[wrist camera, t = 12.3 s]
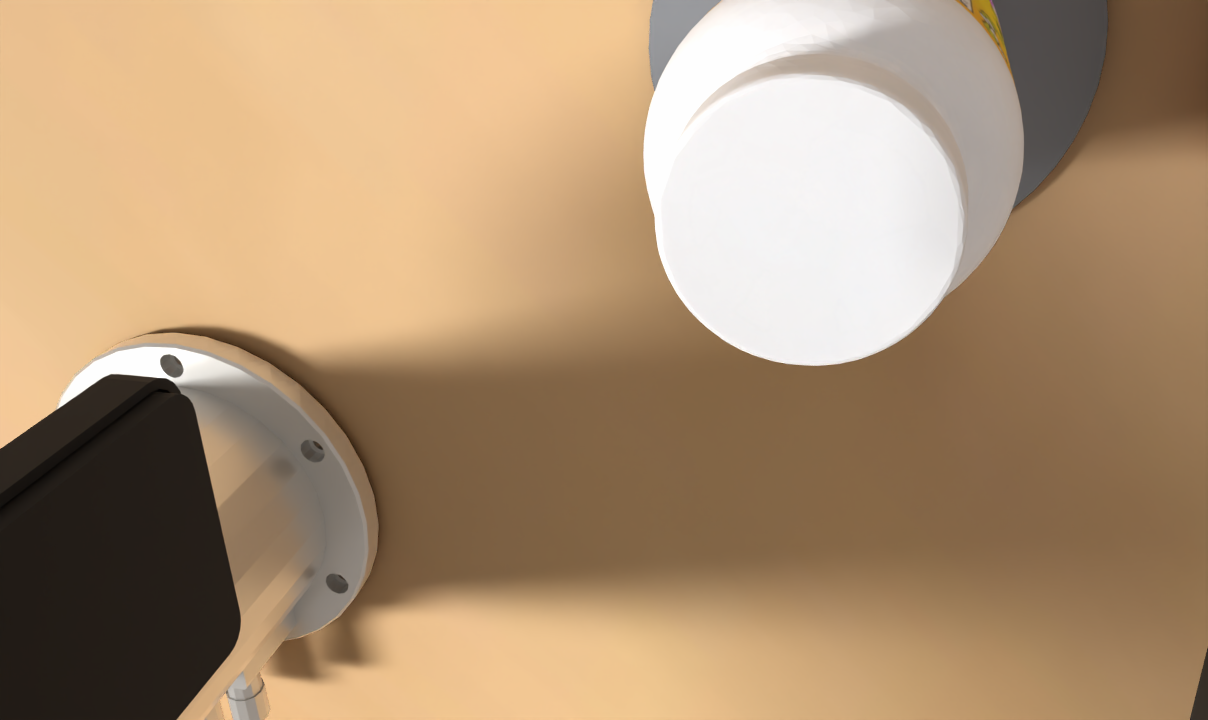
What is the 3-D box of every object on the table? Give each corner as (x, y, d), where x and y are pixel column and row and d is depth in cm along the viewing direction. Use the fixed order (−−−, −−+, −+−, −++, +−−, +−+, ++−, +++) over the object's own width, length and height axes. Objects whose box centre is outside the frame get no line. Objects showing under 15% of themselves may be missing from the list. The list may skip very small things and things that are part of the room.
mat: (1069, 263, 29) (1071, 271, 29) (658, 239, 32) (653, 247, 32) (1142, -210, 24) (1145, -209, 24) (648, -188, 27) (643, -187, 27)
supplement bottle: (930, 221, 29) (918, 487, 18) (693, 131, 30) (542, 337, 19) (1053, -35, 26) (1131, 102, 15) (782, -130, 26) (663, -67, 15)
